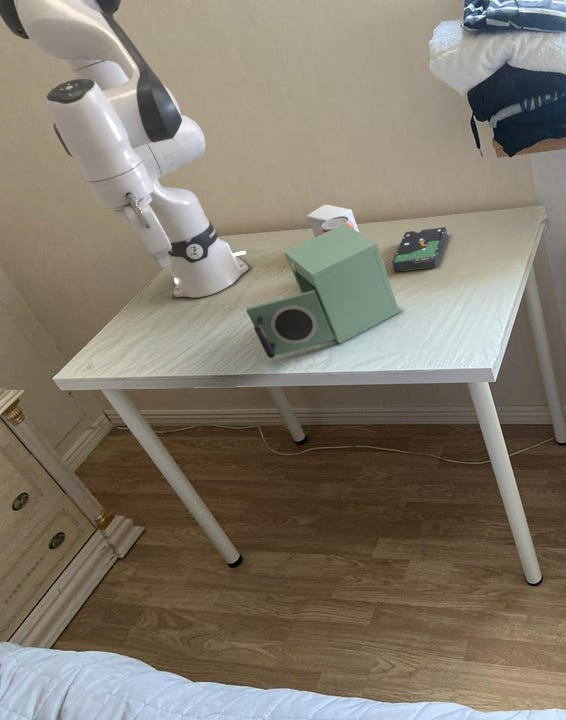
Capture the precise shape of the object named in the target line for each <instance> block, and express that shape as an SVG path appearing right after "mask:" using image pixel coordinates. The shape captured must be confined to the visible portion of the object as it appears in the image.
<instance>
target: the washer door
mask: <svg viewBox="0 0 566 720" xmlns="http://www.w3.org/2000/svg"><path fill="white" fill-rule="evenodd" d="M245 311H246V313H247V315H248V317H249V319H250V321H251V323H252V326H253V329H254V331H255V332H254V333H255V334H256V336H257V338H258V340H259V342H260V344H261V346H262V348H263V350H264V352H265V355H266V356H267V358H268V359H274V358H275V356H279V355H282V354H286V353H290V352H294V351H298V350H300V349H304V348H308V347H313V346H316V345H320V344H324V343H326V342H331V341H334V340H335V339H334V337H333V334H332V332H331V329H330V327H329V324H328V322H327V319H326V317H325V314H324V312H323V310H322V307H321V305H320V302H319V300H318V297H317V295H316V292H315V290H312V291H308V292H304V293H301V292H300V293H297V294H293V295H289V296H286V297H285V296H284V297H282V298H279V299H275V300H272V301H266V302H262V303H259V304H256V305H252V306H248V307H246V309H245Z"/></svg>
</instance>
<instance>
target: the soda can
mask: <svg viewBox="0 0 566 720" xmlns="http://www.w3.org/2000/svg"><path fill="white" fill-rule="evenodd" d="M343 224H346V225H348V226H349V227H351V228H353V229H354V226H353V224H352V223H351V222H350V221H349V219H348V217H346V216H339V217H335V218H332V219H329V220H327V221H326V222H325V223H323V225H322V229H323V231H322V234H324V233H326V232H328V231H330V230H333V229H335V228H337V227H339V226H341V225H343ZM354 230H355V229H354Z"/></svg>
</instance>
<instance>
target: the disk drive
mask: <svg viewBox="0 0 566 720" xmlns="http://www.w3.org/2000/svg"><path fill="white" fill-rule="evenodd" d="M448 236H449V234H448V230H447V227H446V226H443V227H442V226H441V227H436V228H435V227H434V228H428V229H422V230H421V231H420V232H417V231H415V230H411V231H406V232H405V233H404V235H403V237H402V239H401V241H400V244H399V246H398V248H397V250H396V251H395V254H394V256H393V259H392V261H391V265H392V267H393V271H394V272H404V271H413V270H421V269H430V268H435V267H438V265H439V262H440V260H441V256H442V254H443V251H444V249H445V245H446V242H447V240H448Z"/></svg>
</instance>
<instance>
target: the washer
mask: <svg viewBox="0 0 566 720" xmlns="http://www.w3.org/2000/svg"><path fill="white" fill-rule="evenodd" d="M283 253H284V256H285V258H286V260H287V262H288V265H289V267H290V269H291V272H292V274H293V277H294V279H295V281H296V284H297V286H298V288H299V289H298V290H299V291H300V293H304V292H308V291H312V290H315V292H316V295H317V297H318V300H319V302H320V305H321V307H322V310H323V312H324V314H325V317H326V319H327V322H328V324H329V327H330V329H331V332H332V334H333V337H334V340H335V341H336V342H337V343H339V344H342V343H345V342H346V341H348V340H350V339H352V338H354V337H356V336H357V335H360V334H361V333H363V332H365V331H368V330H369V329H371V328H373V327H374V326H377V325H379V324H380V323H383V322H385V321H386V320H388V319H390V318H391V317H393V316H395V315H398V314H399V313H400V309H399V306H398V303H397V300H396V297H395V294H394V291H393V288H392V286H391V283H390V282H391V281H390V279H389V276H388V272H387V269H386V267H385V264H384V260H383V258H382V255H381V251H380V249H379V245H378V243H377V242H375V241H374V240H372V239H370V238H369V237H367V236H365V235H364V234H362V233H360V231H359V232H357V231H356V230H354V229H353V228H351V227H349V226H348V225H346V224H343V225H341V226H339V227H337V228H335V229H333V230H330V231H328V232H326V233H324V234H322V235H319V236H317V237H315V236H314V237H313V238H311V239H309V240H306V241H305V242H302V243H300V244H298V245H296V246H294V247H291V248H289V249H287V250H285V251H283Z"/></svg>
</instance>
